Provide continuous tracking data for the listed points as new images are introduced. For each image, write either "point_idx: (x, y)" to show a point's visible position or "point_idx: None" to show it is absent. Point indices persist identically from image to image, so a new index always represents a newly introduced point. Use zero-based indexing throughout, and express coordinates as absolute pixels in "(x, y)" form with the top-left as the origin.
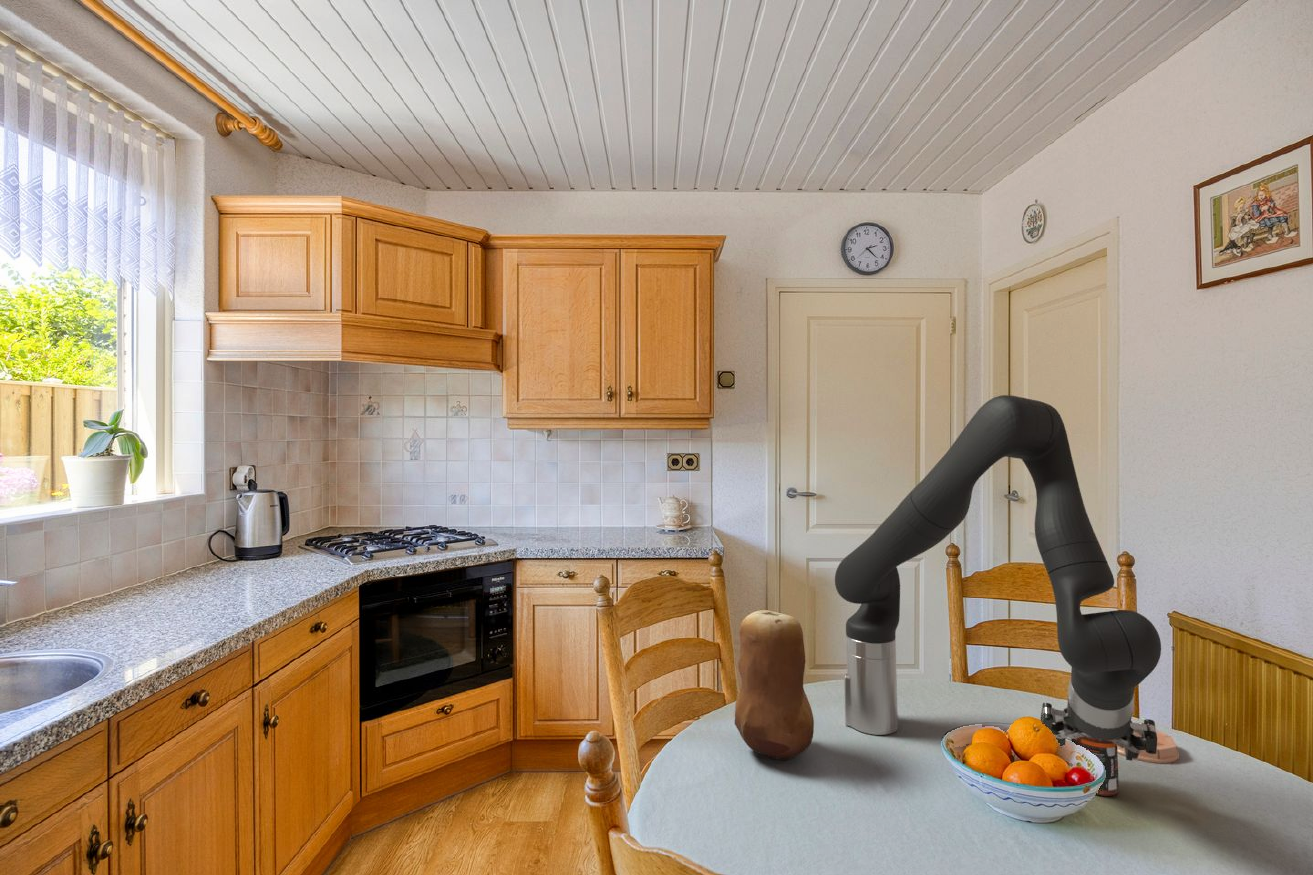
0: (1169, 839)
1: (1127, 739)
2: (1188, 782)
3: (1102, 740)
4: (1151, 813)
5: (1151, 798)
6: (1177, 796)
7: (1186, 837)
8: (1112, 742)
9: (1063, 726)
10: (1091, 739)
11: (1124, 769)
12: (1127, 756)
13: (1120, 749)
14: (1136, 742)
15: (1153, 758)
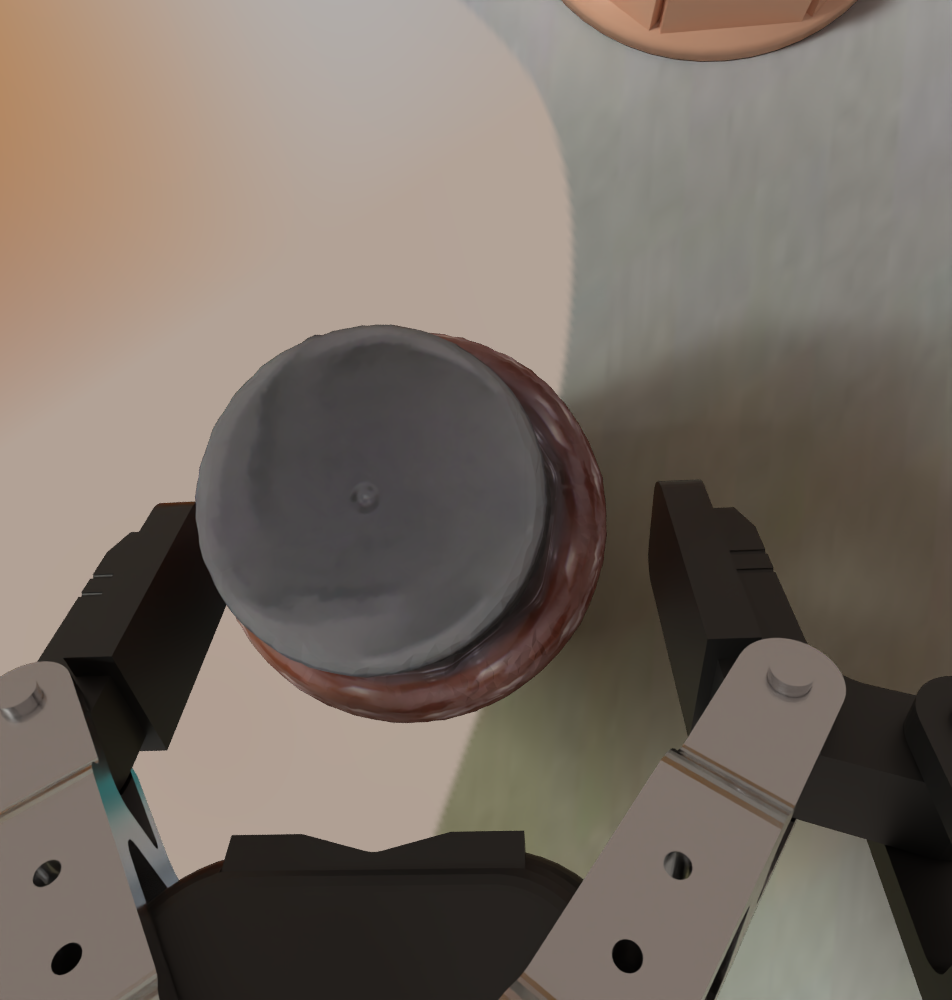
0: (776, 989)
1: (728, 958)
2: (924, 210)
3: (474, 708)
4: None
5: None
6: (855, 426)
7: (858, 914)
8: (564, 645)
9: (106, 669)
10: (378, 718)
11: (618, 229)
12: (665, 637)
13: (616, 3)
14: (803, 797)
15: (779, 24)
